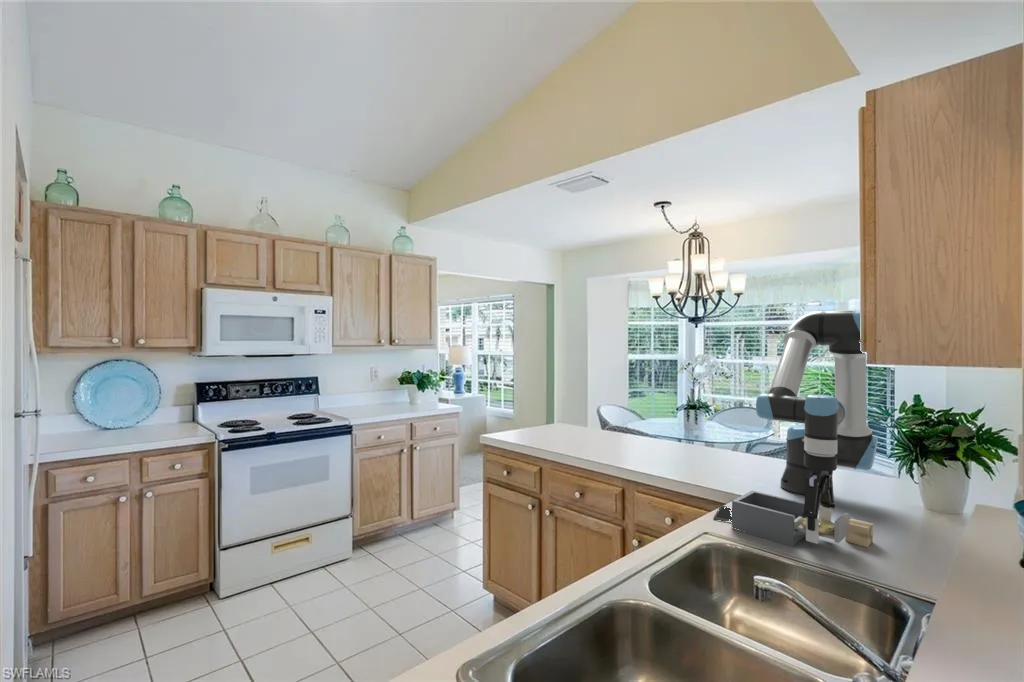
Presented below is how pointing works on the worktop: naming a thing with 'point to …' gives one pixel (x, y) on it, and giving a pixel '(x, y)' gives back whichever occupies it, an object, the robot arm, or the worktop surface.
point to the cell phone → (723, 514)
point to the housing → (768, 517)
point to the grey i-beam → (840, 527)
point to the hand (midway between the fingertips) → (818, 536)
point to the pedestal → (860, 532)
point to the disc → (822, 527)
